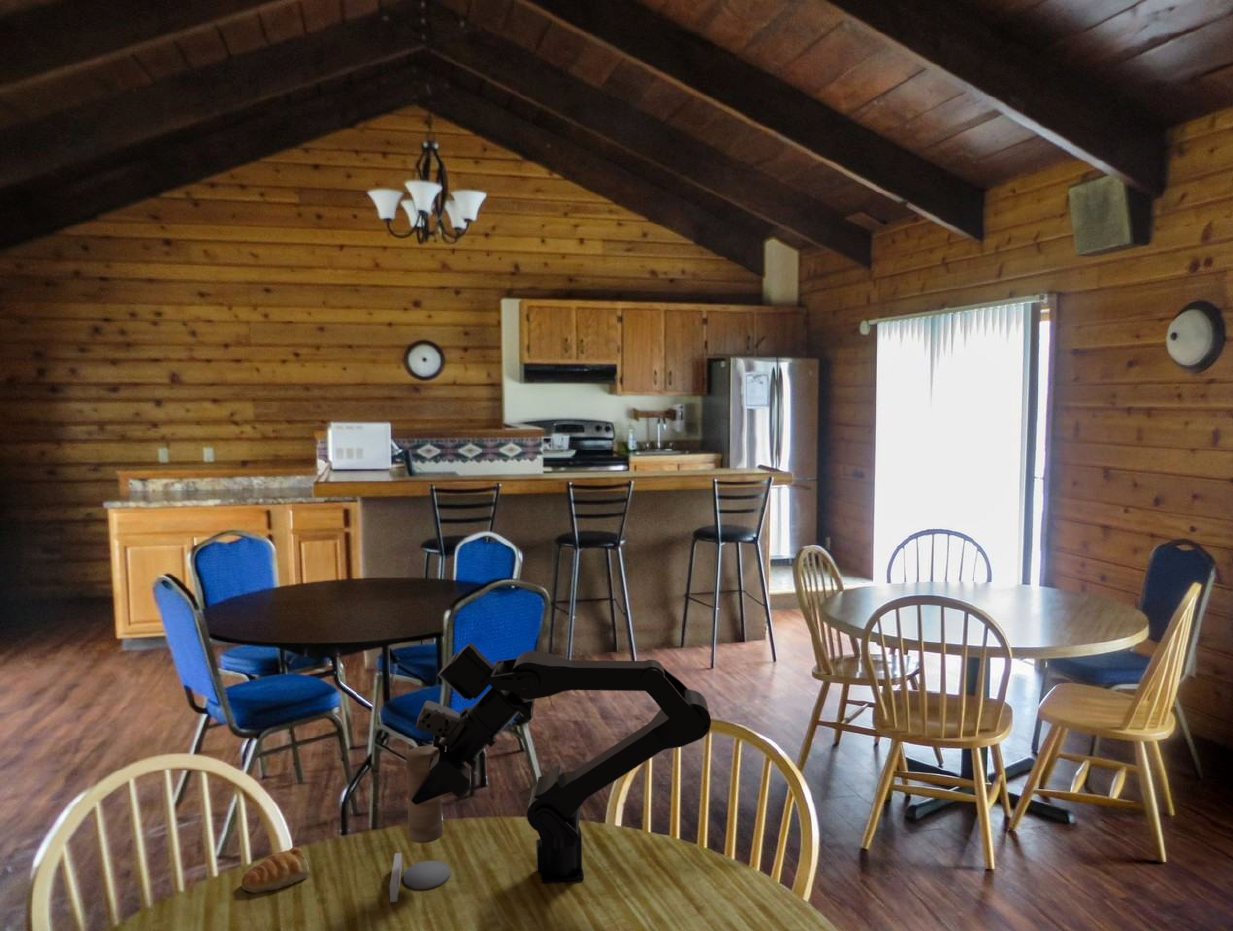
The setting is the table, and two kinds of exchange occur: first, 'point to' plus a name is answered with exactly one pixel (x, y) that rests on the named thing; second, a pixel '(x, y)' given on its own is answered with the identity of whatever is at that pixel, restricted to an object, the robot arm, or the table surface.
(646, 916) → the table surface
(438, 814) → the walnut post
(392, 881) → the acrylic wall
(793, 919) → the table surface
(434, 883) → the slate mat
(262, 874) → the pastry
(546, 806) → the robot arm
